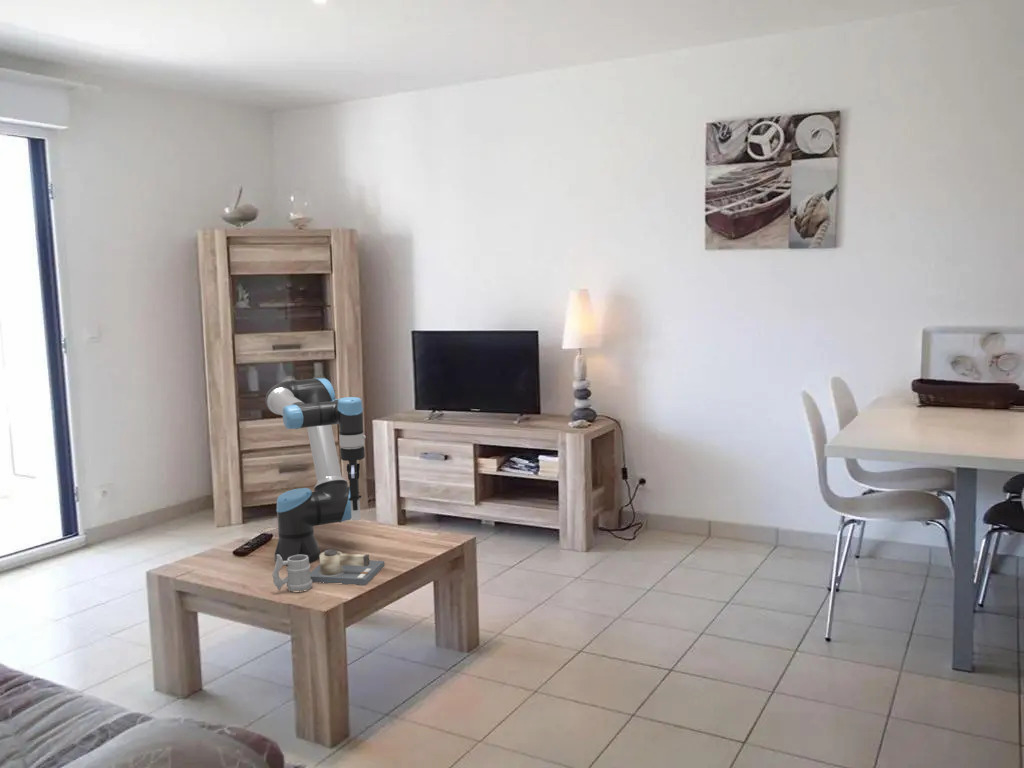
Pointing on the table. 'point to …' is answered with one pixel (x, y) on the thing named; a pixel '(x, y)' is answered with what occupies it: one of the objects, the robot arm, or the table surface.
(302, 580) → the mug
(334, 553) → the lever
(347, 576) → the grey base plate
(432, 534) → the table surface
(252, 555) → the table surface
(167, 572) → the table surface
